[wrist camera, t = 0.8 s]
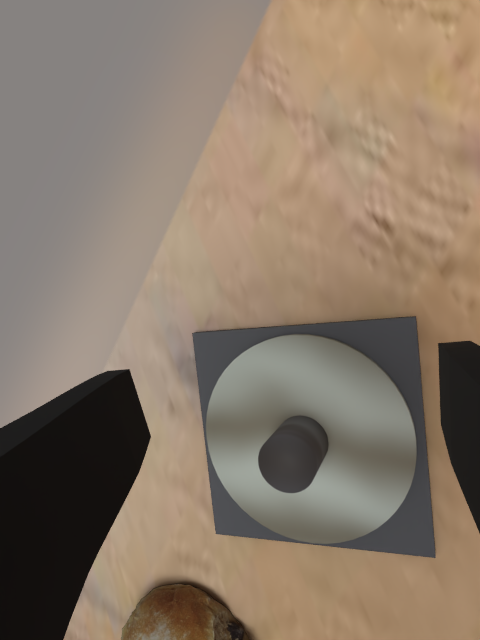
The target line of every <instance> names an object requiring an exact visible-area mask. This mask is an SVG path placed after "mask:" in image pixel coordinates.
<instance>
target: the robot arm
mask: <svg viewBox="0 0 480 640" xmlns="http://www.w3.org/2000/svg"><path fill="white" fill-rule="evenodd" d="M438 348H439V379H440V410H441V426H442V430H443V434H444V438H445V442H446V446H447V449H448V453H449V457H450V460H451V464H452V467H453V469H454V472H455V474H456V477H457V479H458V482H459V484H460V487H461V489H462V491H463V494H464V496H465V499H466V501H467V504H468V506H469V508H470V511H471V513H472V516H473V518H474V521H475V523H476V525H477V528H478V530H479V533H480V346H479V345H477V344H475V343H473V342H471V341H461V342H449V343H438ZM150 438H151V435H150V432H149V429H148V426H147V423H146V420H145V417H144V413H143V410H142V407H141V404H140V401H139V398H138V395H137V392H136V388H135V385H134V382H133V379H132V376H131V373H130V370H129V369H127V370H115V371H107V372H104V373H102V374H99V375H97V376H95V377H93V378H91V379H89V380H87V381H85V382H83V383H81V384H79V385H78V386H76V387H74V388H72V389H70V390H69V391H67V392H65V393H63V394H61V395H60V396H58V397H56V398H55V399H53V400H51V401H50V402H48V403H46V404H44V405H42V406H41V407H39V408H37V409H35V410H34V411H32V412H30V413H28V414H26V415H24V416H22V417H21V418H19V419H17V420H15V421H13V422H11V423H9V424H8V425H6V426H4V427H2V428H0V640H63V639H64V636H65V633H66V630H67V628H68V625H69V622H70V619H71V616H72V614H73V611H74V609H75V606H76V604H77V601H78V599H79V596H80V593H81V591H82V588H83V586H84V583H85V581H86V578H87V576H88V573H89V571H90V569H91V567H92V565H93V562H94V560H95V558H96V556H97V554H98V552H99V550H100V548H101V546H102V544H103V542H104V540H105V538H106V536H107V534H108V532H109V530H110V529H111V527H112V525H113V523H114V521H115V519H116V517H117V515H118V513H119V511H120V509H121V507H122V505H123V503H124V501H125V499H126V497H127V495H128V493H129V491H130V489H131V487H132V485H133V483H134V481H135V479H136V477H137V475H138V473H139V471H140V468H141V465H142V462H143V460H144V457H145V454H146V451H147V447H148V444H149V441H150Z"/></svg>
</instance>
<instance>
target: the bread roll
mask: <svg viewBox="0 0 480 640" xmlns="http://www.w3.org/2000/svg"><path fill="white" fill-rule="evenodd" d="M121 640H249V638H248V636H247V635H246V633H245V632H244V630H243V628H242V626H241V624H240V623H238V622H237V621H236V620H235V618H234V617H233V615H232V614H231V613H230V611H229V610H228V609H227V608H225V607H224V606H223V605H221V604H220V603H218V602H217V601H215V600H214V599H212V598H211V597H210V596H209V595H208V594H207V593H206V592H204V591H203V590H201V589H199V588H194V587H192V586H191V585H181V584H178V583H177V584H174V585H169V586H161V587H158V588H155V589H153V590H152V591H151V592H150V593H149V594H148V595H147V596H145V597H144V598H142V599H141V600H140V603H138V604H137V606H136V609H135V610H134V611H133V612H132V615H131V616H130V618H129V619H128V621H127V623H126V625H125V626H124V627H123V629H122V637H121Z"/></svg>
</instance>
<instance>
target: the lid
mask: <svg viewBox="0 0 480 640" xmlns="http://www.w3.org/2000/svg"><path fill="white" fill-rule="evenodd" d="M206 436H207V443H208V449H209V453H210V457H211V460H212V463H213V466H214V468H215V470H216V473H217V475H218V477H219V479H220V481H221V482H222V484H223V486H224V487H225V489H226V490H227V492H228V493H229V494H230V496H231V497H232V498H233V500H234V501H235V502H236V503H237V504H238V505H239V506H240V507H241V508H242V509H243V510H244V511H245V512H246V513H247V514H248V515H249V516H250V517H252V518H253V519H254V520H256V521H257V522H259V523H260V524H261V525H263V526H265V527H266V528H268V529H270V530H272V531H274V532H276V533H278V534H280V535H283V536H285V537H288V538H291V539H295V540H298V541H303V542H309V543H319V544H330V543H341V542H345V541H350V540H354V539H356V538H359V537H361V536H364V535H366V534H368V533H370V532H372V531H373V530H375V529H377V528H378V527H380V526H381V525H382V524H383V523H385V522H386V521H387V520H388V519H389V518H390V517H391V516H392V515H393V514H394V513H395V512H396V511H397V510H398V508H399V507H400V505H401V504H402V502H403V501H404V499H405V497H406V495H407V493H408V491H409V489H410V487H411V483H412V480H413V476H414V473H415V466H416V457H417V446H416V434H415V427H414V423H413V420H412V416H411V413H410V410H409V408H408V406H407V403H406V401H405V399H404V397H403V395H402V394H401V392H400V390H399V389H398V387H397V386H396V384H395V383H394V381H393V380H392V379H391V378H390V377H389V375H388V374H387V373H386V372H385V371H384V370H383V369H382V368H381V367H380V366H379V365H378V364H377V363H376V362H375V361H373V360H372V359H371V358H369V357H368V356H367V355H365V354H364V353H363V352H361V351H359V350H357V349H355V348H354V347H352V346H350V345H348V344H345V343H343V342H341V341H338V340H336V339H332V338H328V337H324V336H319V335H312V334H291V335H283V336H279V337H275V338H272V339H268V340H266V341H264V342H261V343H259V344H257V345H255V346H253V347H251V348H249V349H248V350H246V351H245V352H243V353H242V354H241V355H239V356H238V357H237V358H236V359H234V360H233V361H232V362H231V364H230V365H229V366H228V367H227V368H226V369H225V370H224V372H223V373H222V375H221V376H220V378H219V379H218V381H217V383H216V385H215V387H214V389H213V392H212V395H211V398H210V401H209V405H208V410H207V418H206Z"/></svg>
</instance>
